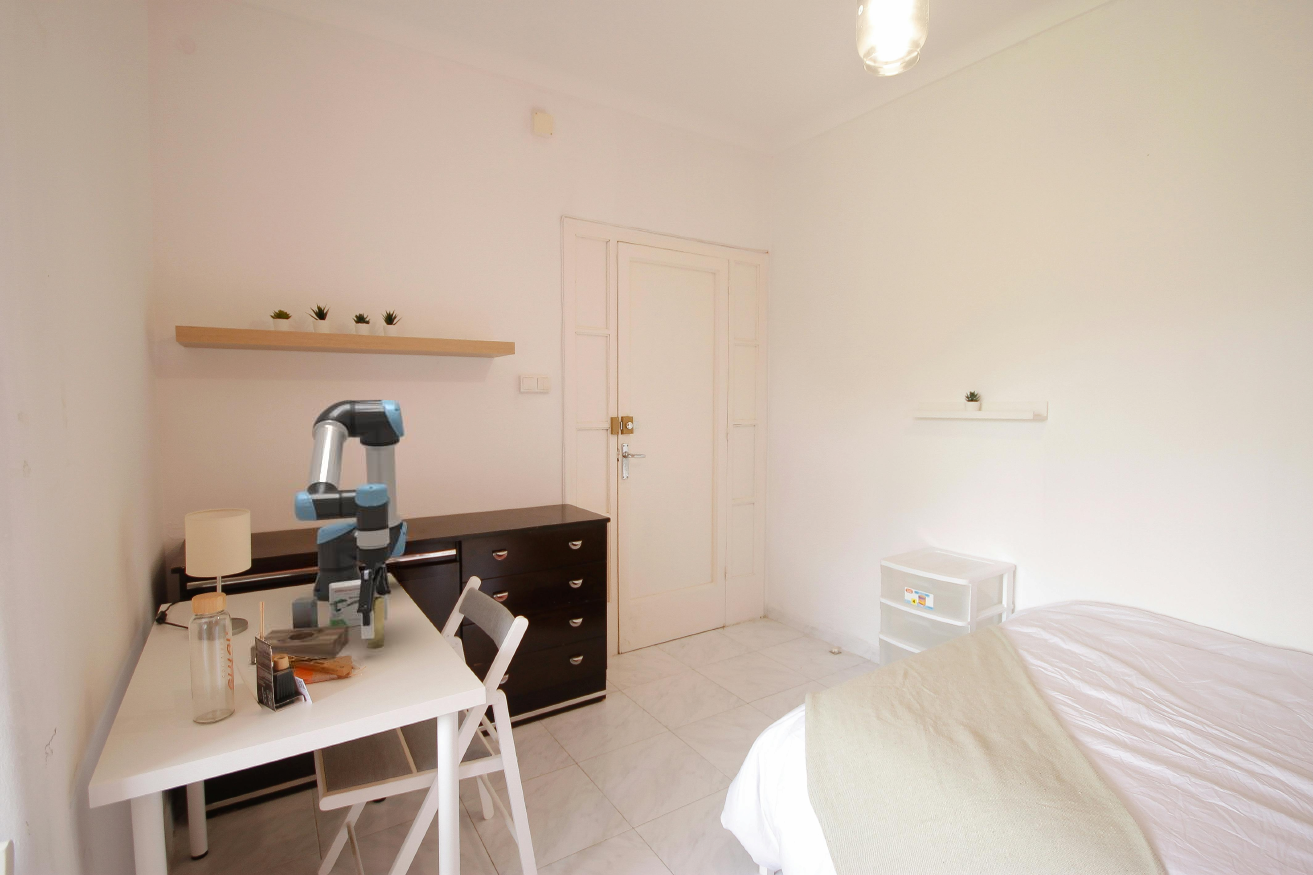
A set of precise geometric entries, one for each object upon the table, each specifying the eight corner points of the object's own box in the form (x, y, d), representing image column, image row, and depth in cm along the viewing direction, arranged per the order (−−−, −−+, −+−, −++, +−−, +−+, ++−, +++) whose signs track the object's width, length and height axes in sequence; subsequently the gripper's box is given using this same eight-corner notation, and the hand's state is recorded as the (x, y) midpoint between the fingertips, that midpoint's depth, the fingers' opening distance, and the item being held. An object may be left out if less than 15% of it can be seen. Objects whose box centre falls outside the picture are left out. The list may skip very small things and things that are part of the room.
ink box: (331, 630, 170) (330, 587, 169) (329, 625, 174) (328, 583, 173) (366, 624, 174) (364, 582, 174) (363, 619, 179) (362, 578, 178)
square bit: (300, 634, 167) (298, 597, 166) (318, 633, 167) (317, 596, 167) (293, 640, 162) (292, 602, 162) (312, 639, 163) (310, 601, 163)
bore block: (273, 645, 159) (272, 630, 159) (348, 640, 162) (348, 625, 162) (251, 664, 147) (250, 647, 147) (332, 658, 150) (332, 642, 150)
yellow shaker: (369, 643, 160) (368, 597, 160) (386, 641, 161) (385, 596, 160) (365, 648, 156) (364, 601, 156) (382, 647, 157) (381, 600, 156)
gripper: (371, 536, 169) (373, 614, 170) (341, 557, 144) (343, 647, 145) (400, 535, 170) (402, 612, 171) (375, 555, 146) (378, 645, 147)
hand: (375, 628), depth 158 cm, fingers open, 13 cm apart
